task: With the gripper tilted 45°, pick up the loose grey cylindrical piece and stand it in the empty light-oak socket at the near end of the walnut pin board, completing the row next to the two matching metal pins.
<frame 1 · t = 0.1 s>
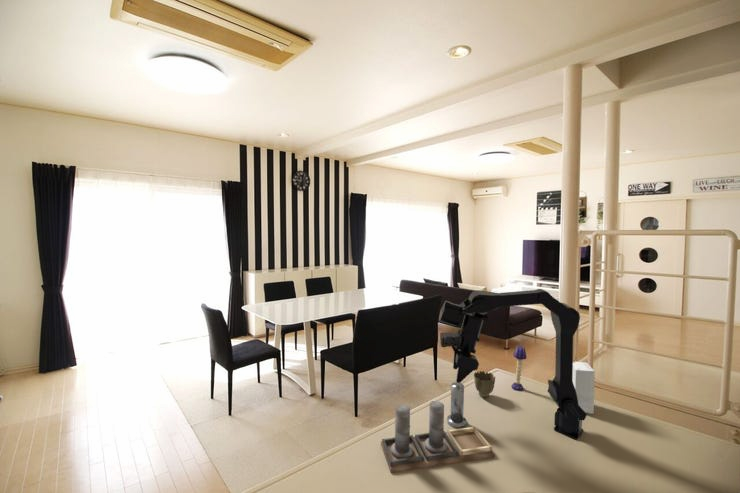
hand: (456, 375, 107), 15 cm above the kitchen counter, tool pointing down, fingers open, 9 cm apart
cup: (483, 396, 124), on the kitchen counter
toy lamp: (518, 388, 129), on the kitchen counter
pin board: (435, 450, 94), on the kitchen counter
grey cylindrical piece: (456, 422, 107), on the kitchen counter
skincare box: (580, 407, 117), on the kitchen counter
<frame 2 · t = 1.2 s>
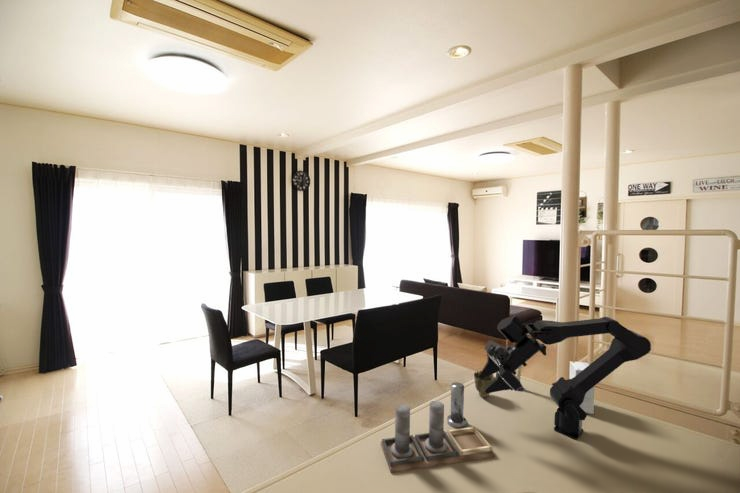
hand: (482, 384, 105), 13 cm above the kitchen counter, tool tilted 45°, fingers open, 9 cm apart
nothing on the kitchen counter moved.
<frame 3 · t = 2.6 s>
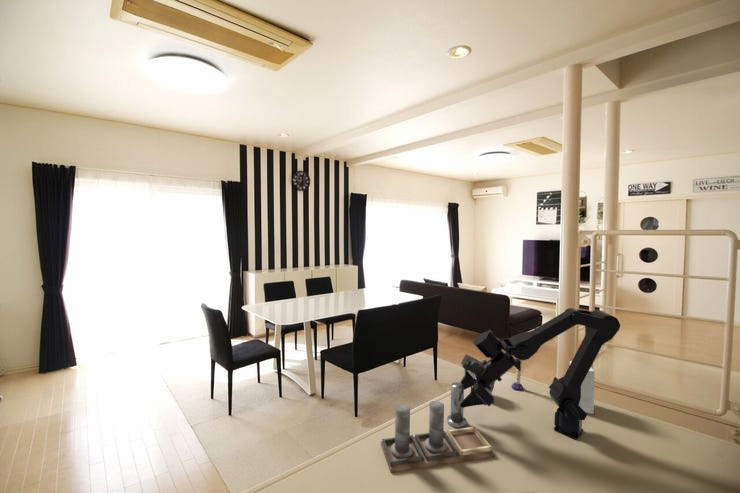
hand: (458, 398, 107), 8 cm above the kitchen counter, tool tilted 45°, fingers open, 9 cm apart
nothing on the kitchen counter moved.
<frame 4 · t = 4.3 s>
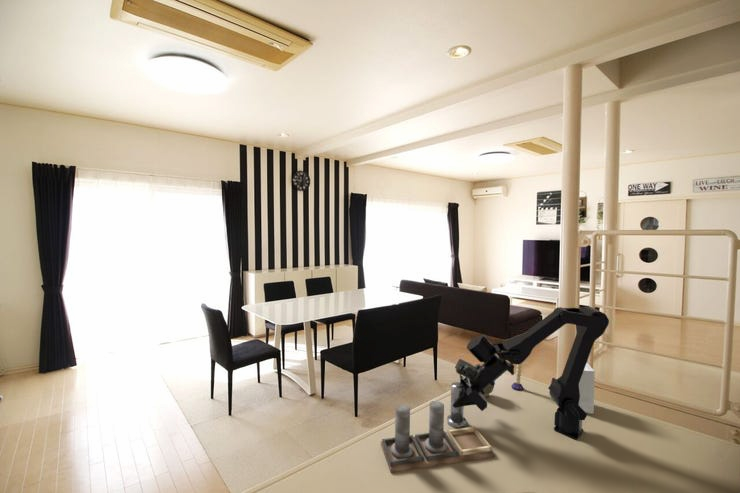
hand: (452, 402, 107), 7 cm above the kitchen counter, tool tilted 45°, fingers closed on grey cylindrical piece, 4 cm apart
grey cylindrical piece: (456, 422, 107), on the kitchen counter, touching gripper
everything else where it was.
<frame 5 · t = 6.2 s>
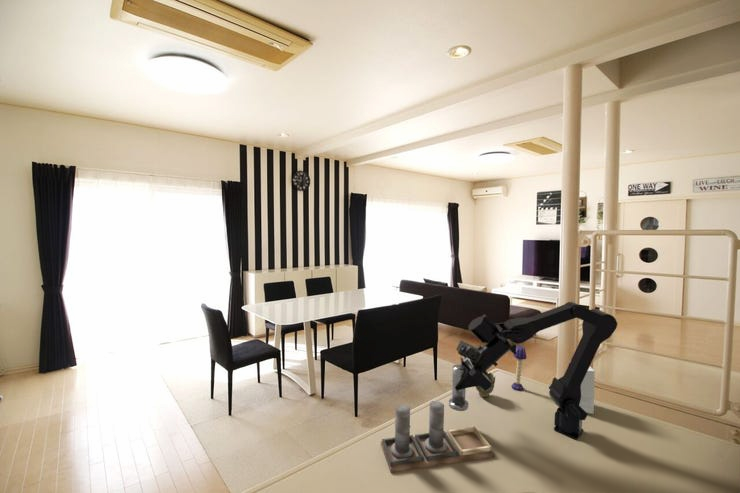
hand: (454, 385, 104), 13 cm above the kitchen counter, tool tilted 45°, fingers closed on grey cylindrical piece, 4 cm apart
grey cylindrical piece: (458, 405, 105), point 7 cm above the kitchen counter, touching gripper
everything else where it was.
when the fingers open (9 cm above the kitchen counter, at t = 8.5 s): grey cylindrical piece drops 1 cm, resting on pin board.
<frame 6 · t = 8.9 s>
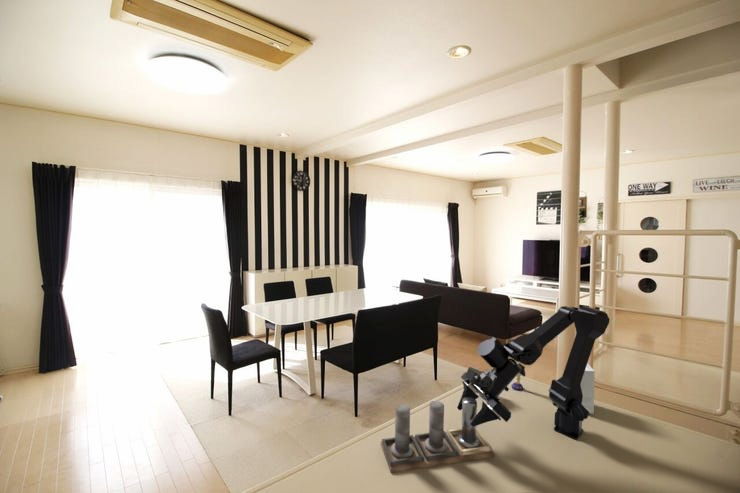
hand: (464, 417, 95), 9 cm above the kitchen counter, tool tilted 45°, fingers open, 8 cm apart
grey cylindrical piece: (468, 442, 96), point 1 cm above the kitchen counter, touching pin board
everything else where it was.
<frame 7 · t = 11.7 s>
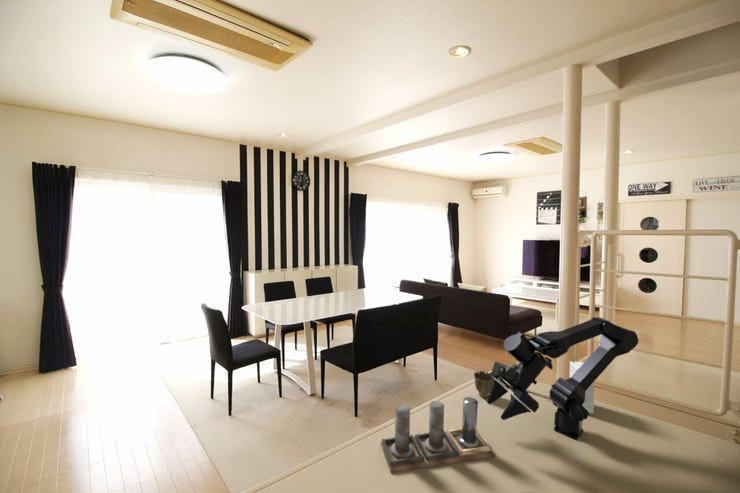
hand: (494, 410, 98), 9 cm above the kitchen counter, tool tilted 40°, fingers open, 9 cm apart
nothing on the kitchen counter moved.
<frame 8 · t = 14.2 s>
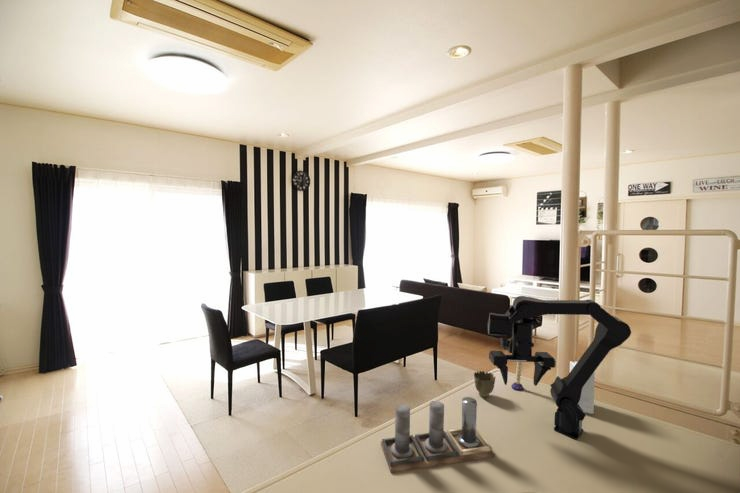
hand: (520, 384, 106), 13 cm above the kitchen counter, tool pointing down, fingers open, 9 cm apart
nothing on the kitchen counter moved.
at the end: grey cylindrical piece 0.2 cm from the target spot, point 1.0 cm above the kitchen counter; grey cylindrical piece tilted 1°; the gripper is holding nothing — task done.
